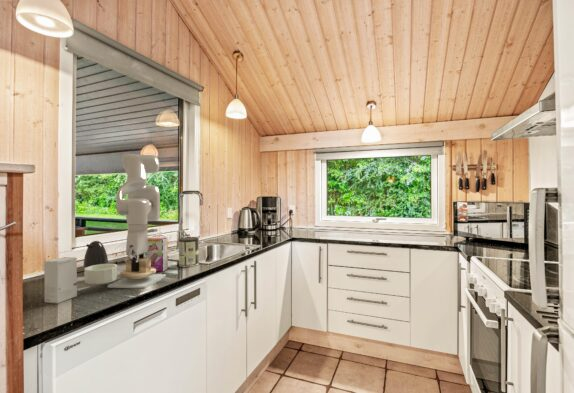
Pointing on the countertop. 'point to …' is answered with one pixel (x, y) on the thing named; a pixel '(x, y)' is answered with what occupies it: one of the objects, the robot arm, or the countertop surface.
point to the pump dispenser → (95, 254)
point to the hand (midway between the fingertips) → (138, 269)
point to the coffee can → (188, 252)
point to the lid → (143, 271)
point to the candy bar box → (158, 253)
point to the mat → (137, 282)
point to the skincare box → (60, 279)
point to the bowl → (100, 274)
